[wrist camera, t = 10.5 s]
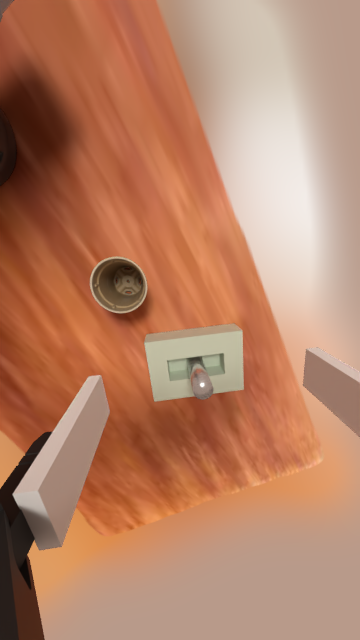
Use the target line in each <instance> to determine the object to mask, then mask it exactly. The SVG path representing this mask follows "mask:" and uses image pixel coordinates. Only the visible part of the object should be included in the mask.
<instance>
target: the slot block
mask: <svg viewBox="0 0 360 640" xmlns="http://www.w3.org/2000/svg"><path fill="white" fill-rule="evenodd" d="M144 344H145V350H146V356H147V362H148V368H149V374H150V380H151V386H152V391H153V397H154V402H155V401H163V400H170V399H177V398H185V397H192V396H194V394H193V389H192V385H191V380H190V375H189V370H188V365H187V360H186V358H190V357H197V356H202V359H203V362H204V364H205V367H206V370H207V372H208V375H209V378H210V380H211V383H212V386H213V394H214V393H222V392H229V391H236V390H244V382H243V339H242V330H241V329H240V328H239V327H238V326H237V325H236V324H235V323H233V324H225V325H217V326H209V327H201V328H193V329H185V330H177V331H169V332H161V333H153V334H146V338H145V342H144Z"/></svg>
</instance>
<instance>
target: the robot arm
mask: <svg viewBox="0 0 360 640" xmlns="http://www.w3.org/2000/svg"><path fill="white" fill-rule="evenodd" d="M13 1H14V0H0V22H1V19H2V14H3V13H4V12H5V10H6V9H7V8H8V7H9V6H10V5H11V3H12V2H13ZM15 162H16V142H15V137H14V134H13V130H12V128H11V125H10V123H9V121H8V119H7V118H6V116H5V114H4V113H3V111H2V110H1V109H0V185H2V184H3V183H4V182H5V181H6V180H7V179H8V178H9V176H10V175H11V173H12V171H13V169H14V166H15ZM303 386H304V387H305V388H306V389H307V390H308V391H310V392H311V393H312V394H313V395H314V396H315V397H316V398H317V399H318V400H319V401H321V402H322V403H323V404H324V405H325V406H326V407H327V408H328V409H329V410H331V412H333V413H334V414H335V415H336V416H337V417H338V418H339V419H340V420H342V422H344V423H345V424H346V425H347V426H348V427H349V428H350V429H351V430H352V431H354V432H355V433H356V434H357V435H358V436H359V437H360V371H358V370H356V369H354V368H352V367H351V366H349V365H347V364H346V363H344V362H342V361H340V360H339V359H337V358H335V357H333V356H332V355H330V354H328V353H326V352H325V351H323V350H321V349H320V348H318V347H316V348H309V349H306V356H305V367H304V379H303ZM109 413H110V410H109V405H108V401H107V397H106V393H105V389H104V385H103V381H102V377H101V375H97V376H89V377H88V378H87V380H86V381H85V383H84V384H83V386H82V388H81V389H80V391H79V392H78V394H77V395H76V397H75V398H74V400H73V401H72V403H71V405H70V406H69V408H68V409H67V411H66V412H65V414H64V415H63V417H62V418H61V420H60V422H59V423H58V425H57V426H56V428H55V429H54V431H53V432H45V433H44V434H42V435H41V436H40V437H39V438H38V439H37V440H36V441H35V442H33V444H32V445H31V447H30V448H29V449H28V451H27V452H26V454H25V456H23V458H22V459H21V461H20V462H19V465H18V466H16V468H15V469H14V470H13V472H12V473H11V475H10V476H9V477H8V479H7V480H6V482H5V483H4V485H3V486H2V487H1V489H0V640H45V639H44V634H43V629H42V624H41V618H40V613H39V607H38V602H37V597H36V591H35V586H34V580H33V575H32V570H31V565H30V560H29V558H28V556H27V554H28V552H29V550H30V548H31V545H32V543H33V541H34V540H35V542H36V545H37V547H38V549H39V550H45V549H50V548H57V547H62V544H63V542H64V539H65V536H66V533H67V530H68V528H69V524H70V522H71V519H72V516H73V513H74V511H75V508H76V505H77V502H78V500H79V497H80V494H81V491H82V488H83V486H84V483H85V480H86V477H87V474H88V472H89V469H90V466H91V463H92V460H93V458H94V455H95V452H96V449H97V447H98V444H99V441H100V438H101V435H102V433H103V430H104V427H105V424H106V421H107V419H108V416H109Z"/></svg>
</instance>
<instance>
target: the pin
mask: <svg viewBox="0 0 360 640" xmlns="http://www.w3.org/2000/svg"><path fill="white" fill-rule="evenodd" d="M186 360H187V365H188V370H189V375H190V380H191V385H192V389H193V394H194V396H195V397H196V398H198V399H207V398H209V397H210V396H211V395H212V394H213V386H212V383H211V380H210V378H209V375H208V372H207V370H206V367H205V364H204V362H203V359H202V356H197V357H190V358H186Z"/></svg>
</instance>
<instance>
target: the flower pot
mask: <svg viewBox="0 0 360 640" xmlns="http://www.w3.org/2000/svg"><path fill="white" fill-rule="evenodd" d="M128 267H129V268H131V270H125V268H128ZM116 278H117V280H118V281H117V283H116ZM139 279H140V280H141V285H140V284H139ZM127 280H129V282H127ZM90 288H91V292H92V295H93V297H94V298H95V300H96V301H97V302H98V303H99V304H100V305H101V306H102V307H103V308H105V309H106V310H108V311H111V312H114V313H128V312H131V311H133V310H135V309H136V308H138V307H139V306H140V305H141V304H142V303H143V301H144V299H145V297H146V294H147V280H146V277H145V274H144V272H143V271H142V269H141V268H140V267H139V266H138V265H137V264H136V263H135V262H133V261H132V260H130V259H127V258H124V257H110V258H106V259H104V260H102V261H101V262H99V263H98V264H97V265H96V266H95V268H94V269H93V271H92V274H91V277H90ZM126 291H130V292H132V293H131V294H128V293H126Z"/></svg>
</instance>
